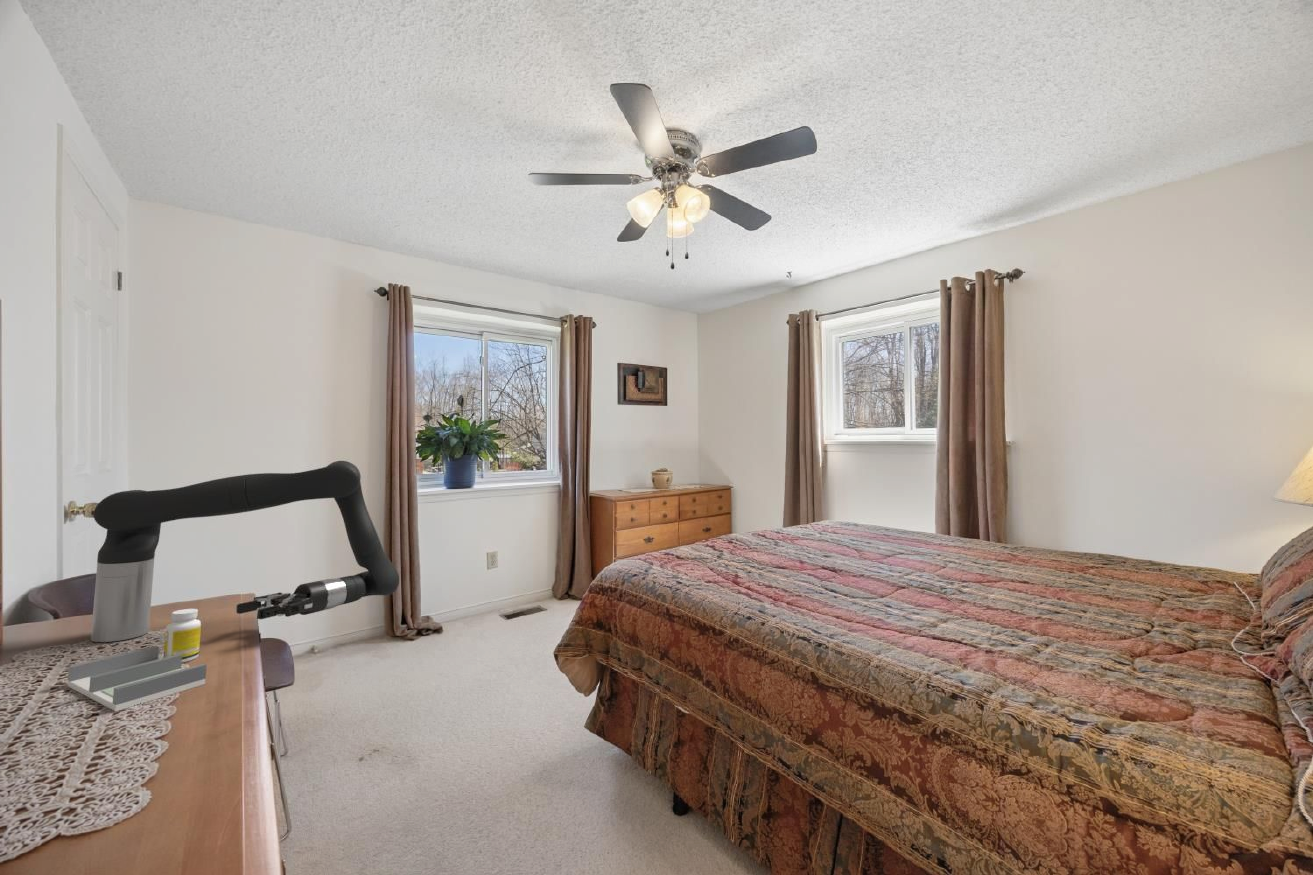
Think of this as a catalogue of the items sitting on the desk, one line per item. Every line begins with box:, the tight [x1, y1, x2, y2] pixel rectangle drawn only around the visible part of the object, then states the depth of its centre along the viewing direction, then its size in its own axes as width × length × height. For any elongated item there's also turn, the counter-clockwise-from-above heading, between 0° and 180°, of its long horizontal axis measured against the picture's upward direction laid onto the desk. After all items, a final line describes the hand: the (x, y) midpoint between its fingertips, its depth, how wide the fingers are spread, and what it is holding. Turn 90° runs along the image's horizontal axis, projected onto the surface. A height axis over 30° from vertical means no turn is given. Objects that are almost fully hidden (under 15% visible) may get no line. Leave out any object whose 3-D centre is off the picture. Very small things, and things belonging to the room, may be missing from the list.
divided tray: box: [66, 645, 207, 712], centre depth 94 cm, size 20×12×4 cm, turn 64°
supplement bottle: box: [163, 608, 202, 664], centre depth 106 cm, size 5×5×10 cm
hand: (247, 611), depth 116 cm, fingers open, 8 cm apart
